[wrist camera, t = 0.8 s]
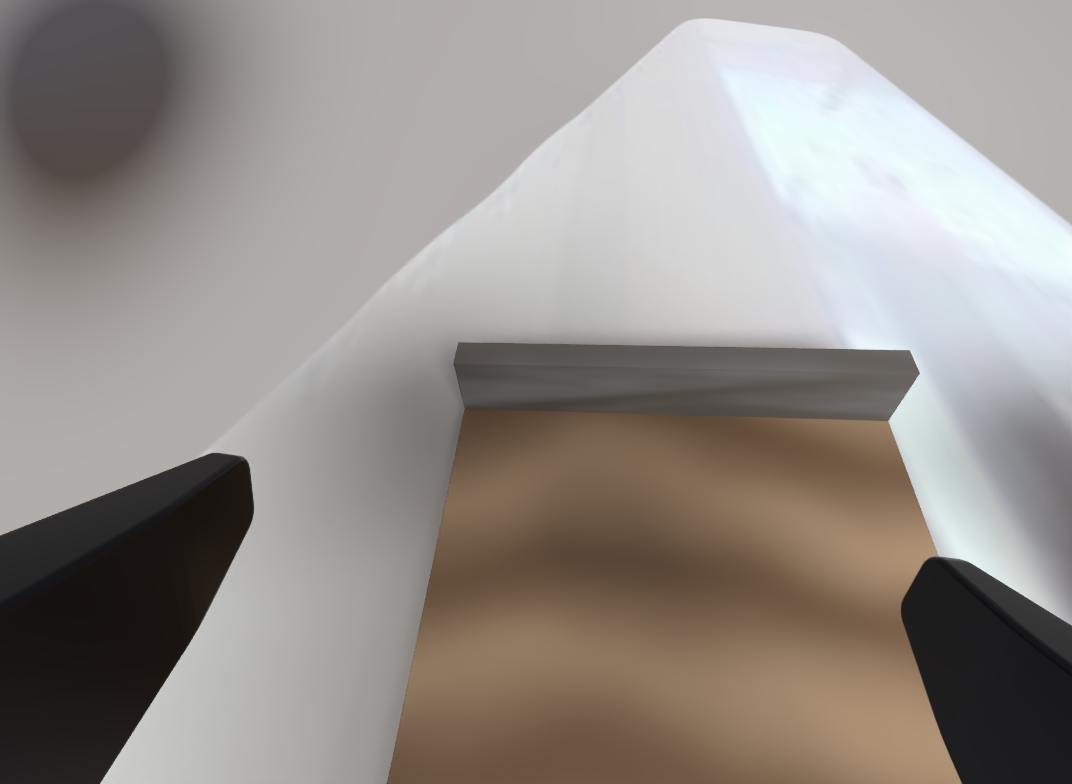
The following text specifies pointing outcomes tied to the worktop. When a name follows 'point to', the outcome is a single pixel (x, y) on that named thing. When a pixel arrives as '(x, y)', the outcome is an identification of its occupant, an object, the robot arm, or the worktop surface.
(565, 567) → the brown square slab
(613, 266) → the worktop surface
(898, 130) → the worktop surface
